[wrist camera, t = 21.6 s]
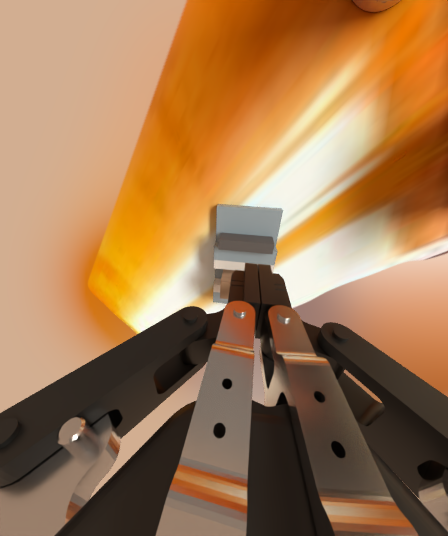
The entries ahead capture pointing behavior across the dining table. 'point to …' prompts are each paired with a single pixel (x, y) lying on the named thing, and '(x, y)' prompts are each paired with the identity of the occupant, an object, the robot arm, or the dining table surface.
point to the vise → (244, 229)
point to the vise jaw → (243, 251)
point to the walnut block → (225, 283)
